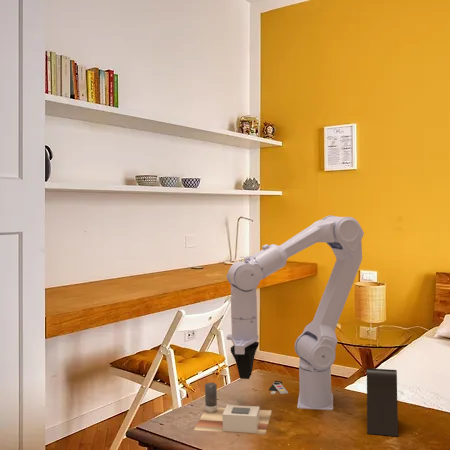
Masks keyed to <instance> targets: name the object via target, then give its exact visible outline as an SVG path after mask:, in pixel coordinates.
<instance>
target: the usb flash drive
mask: <svg viewBox="0 0 450 450" xmlns="http://www.w3.org/2000/svg"><path fill="white" fill-rule="evenodd" d="M282 383H283V381H281V380H274V381H273V383H272V384H271V386H270V387H269V388H268V391H271V392H270V394H271V395H275V394H276V393H277V392H279V394H280V395H284V394H285V395H286V394H289V392H288V390H287V389H286V388H285V387H284V385H283V384H282Z"/></svg>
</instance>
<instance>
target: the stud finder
mask: <svg viewBox="0 0 450 450" xmlns="http://www.w3.org/2000/svg"><path fill="white" fill-rule="evenodd" d="M224 408H225V410H224V412H223V414H222V416H223V431H231V432H247V433H257V430H258V427H259V424H260V410H261V409H260V406H259V405H257V406H256V405H255V406H254V405H236V404H226V406H225V407H224ZM231 432H230V433H231ZM247 433H246V434H247Z"/></svg>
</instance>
